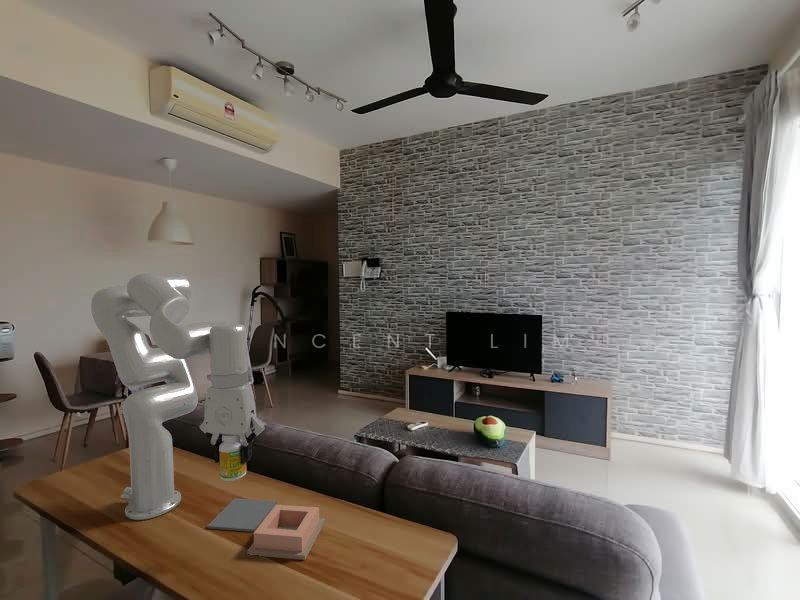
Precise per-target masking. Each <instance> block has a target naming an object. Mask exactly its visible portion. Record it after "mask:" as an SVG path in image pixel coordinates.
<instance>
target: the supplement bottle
mask: <svg viewBox="0 0 800 600" xmlns="http://www.w3.org/2000/svg"><path fill="white" fill-rule="evenodd" d="M222 441H223V442H222V443H221V444H220V446H219V457H220V462H219V476H220V477H219V478H220V479H221V480H222V481H225V482H230V481H233V482H234V481H237V480H239V479H241V478H243V477H245V475H246V474H247V462H246V463H245V464H241V459H240V447H241V446H242V445H243V444H242V442H241V439H240V436H239V435H229V434H222Z"/></svg>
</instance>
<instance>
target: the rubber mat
mask: <svg viewBox="0 0 800 600" xmlns="http://www.w3.org/2000/svg"><path fill="white" fill-rule="evenodd" d="M275 505H278V503H277V500H268V499H267V500H265V499H249V498H233V500H232V501H230V503H228V505H226V506H225V507H224V508H223V509H222V510H221V511H220V513H218V515H217V516H216V517H214V519H212V521H211V522H209V523H208V525H207V526H206V528H207V529H210V530H211V529H212V530H224V531H225V530H226V531H237V532H248V533H249V532H250V533H254V532H255V531H256V530H257V528H258V527H259V526H260V524H261V523H262V522H263V521H264V519H265V518H266V517H267V516H268V514H269V513H270V512H271V510H272V509H273V508H274V507H275Z"/></svg>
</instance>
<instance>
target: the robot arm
mask: <svg viewBox="0 0 800 600" xmlns="http://www.w3.org/2000/svg"><path fill="white" fill-rule="evenodd" d="M192 289H193V288H192V285H191V283H190V280H189V279H188V278H187V277H186V276H184V275H183V274H180V273H177V272H176V273H175V272H143V273H139V274H136V275H135V276H132V277H131V278H130V279H129V280H128V282H127V283H126V285H122V286H120V285H119V286H110V287H104V288H102V289H100V290H98V291H96V292H95V293H94V294H93V296H92V298H91V302H90V311H91V315H92V319H93V322H94V323H95V324H94V325H96V327H97V329H98V330H99V332H100V333H101V335H102V336H103V337H104V339H105V341H106V342H107V345H108V348H109V351H110V353H111V357H112V360H113V364H114V366H115V369H116V372H117V375H118V378H119V379H120V382H121V383H122V385H124V386H125V387H127V388H128V387H129V388H137V387H142V386H147V385H152V384H156V383H160V382H161V383H162V382H165V384H161V385H156V386H151V387H147V388H143V389H140V390H137V391H135V392H132V393H131V394H129V395H128V396H127V397H126V398H125V400H124V401H123V404H122V413H123V418H124V421H125V425H126V430H127V435H128V445H129V449H128V451H129V462H130V463H129V466H130V467H129V468H130V485H131V486H130V487H129V486H126V487H125V488H124V490H123V493H122V494H121V495H120V499H121V500H128V501H127V502H128V504H127V505H126V507H125V509H124V514H125V517H126V518H127V519H130V520H136V521H140V520H141V521H142V520H149V519H153V518H156V517H160V516H162V515H164V514H166V513H169V512H170V511H171V510H173V509H175V508H176V507H177V506H179V504H180V503H181V501H182V493H181V492H180V491H179V490H175V478H174V477H175V474H174V450H173V447H174V446H173V438H172V434H171V433H170V431H169V430H167V429H166V427H164V425H163V423H164V422H167V421H168V420H172V419H176V418H178V417H181V416H184V415H187V414H189V413H192V412H193V411H194V410H195V409H196V408H197V405H198V402H199V396H198V391H197V389H196V385H195V382H194V380H193V377H192V374H191V372H190V371H191V370H190V369H189V366H188V363H187V360H189V359H192V358H197V357H202V356H209V362H210V365H209V367H210V374H207V376H206V380H207V381H210V386H208V387H207V391H206V396H205V401H204V402H205V403H204V420H203V422H202V423H201V424H200V425H199V429H200V431H201V432H203V433H204V434H205V436H206V437H207V438H208V439H209V440H210V444H211V445H212V446H213V456H214V463H216V464H217V463H220V457H219V446H220V444H221V443H222V442H223V441H222V434H229V435H239V436H240V439H241V442H242V444H243V445H242V446H241V447H240V459H241V464H245V463H246V464H247V462H249V461H250V460H251V459H252V457H253V448H252V442H254V440H255V439H256V438H257V437H258V436H259V435H260V434H261V433H262V432H263V431H265V429H266V426H264V424H263V423H262V421H260V420H259V418H258V417H257V408H256V401H255V396H254V390H253V387H252V385H251V384H249V363H248V361H249V359H248V339H247V336H248V335H247V328H246V327H245V325H243V324H241V323H227V322H224V321H218V320H217V321H207V322H195V323H194V322H193V323H186V324H179V323H181V322H182V321H183V320H184V319H185V318H186V317H187V315H188V314H189V312H190V302H189V300H190V298H191V297H192ZM149 316H150V317H151V318H150V320H149V332H150V336H151V339H152V341H153V343H154V344H155V345H156V347H154V348H153V347H151V346H150V345H149V342H148V339H147V335H146V334H145V332H144V331H143V330H142V328H140V327H139V326H138V325H137V324H134V323H133V322H132V321H130V320H128V318H136V317H137V318H138V317H149ZM253 428H254V430H253V431H252V430H251V429H253Z"/></svg>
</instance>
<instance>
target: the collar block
mask: <svg viewBox="0 0 800 600" xmlns="http://www.w3.org/2000/svg"><path fill="white" fill-rule="evenodd" d="M325 523H326V520H325V518H323V517H320V507H318V506H316V507H315V506H303V505H301V506H300V505H290V504H289V505H286V504H276V505H275V506H274V507H273V509H272V510H271V511H270V513H269V514H268V515H267V516H266V518H265V519H264V520H263V521H262V523H261V524H260V525H259V526H258V528H257V529H256V530H255V532H253V543H252V544H251V545H250V547H249V548H248V549H247V555H248V554H252V555H251V556H253V555H259V556H258V557H266V558H267V557H269V558H277V559H278V558H279V559H289V560H300V561H305V560H306V559H307V557H308V555H309V553H310V551H311V550H312V547H313V545H314V544H315V541H316V540H317V538H318V537H319V535H320V532H321V531H322V529H323V527H324V525H325Z"/></svg>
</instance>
